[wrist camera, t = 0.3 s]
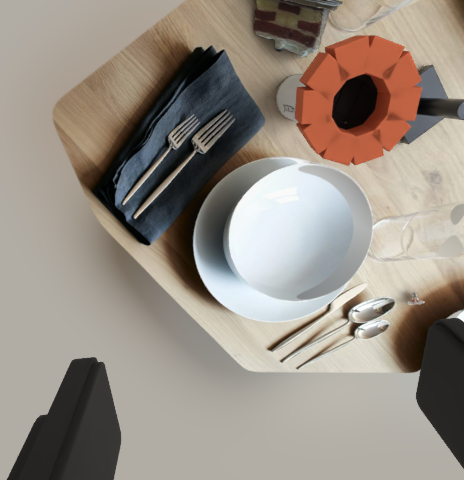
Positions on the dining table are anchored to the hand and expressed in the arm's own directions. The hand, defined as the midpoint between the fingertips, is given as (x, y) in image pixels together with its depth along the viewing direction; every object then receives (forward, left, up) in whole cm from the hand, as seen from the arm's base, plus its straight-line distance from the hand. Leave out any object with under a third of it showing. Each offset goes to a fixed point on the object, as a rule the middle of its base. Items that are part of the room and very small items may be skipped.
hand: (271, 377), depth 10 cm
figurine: (+48, +12, -46) cm, 67 cm away
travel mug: (+3, +14, -48) cm, 51 cm away
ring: (+3, +14, -28) cm, 32 cm away
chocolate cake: (-6, +18, -49) cm, 52 cm away
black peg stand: (+15, +28, -48) cm, 58 cm away
